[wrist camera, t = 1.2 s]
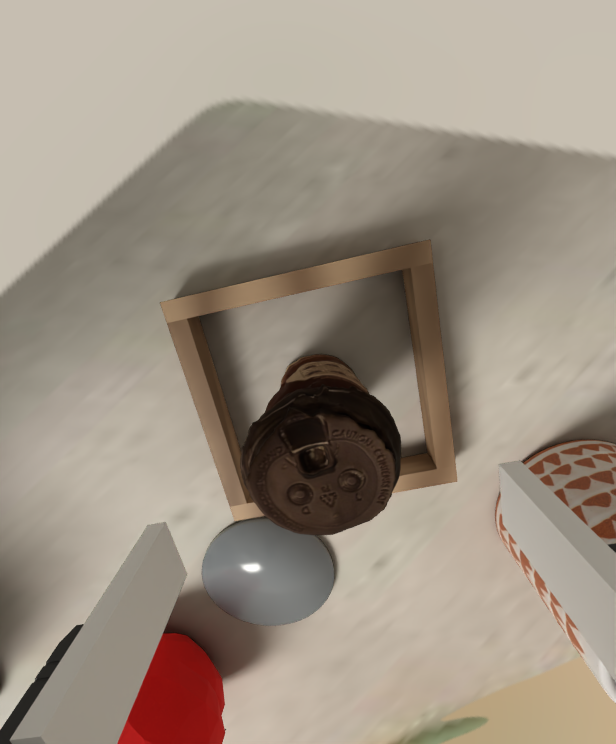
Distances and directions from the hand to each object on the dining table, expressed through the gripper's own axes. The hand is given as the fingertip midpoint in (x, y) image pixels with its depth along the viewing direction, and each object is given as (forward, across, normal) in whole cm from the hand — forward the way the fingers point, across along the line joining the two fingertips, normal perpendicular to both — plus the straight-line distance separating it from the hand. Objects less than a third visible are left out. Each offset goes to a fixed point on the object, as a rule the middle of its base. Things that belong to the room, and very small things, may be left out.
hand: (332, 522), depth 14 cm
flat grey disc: (+16, -9, -18) cm, 26 cm away
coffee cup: (+16, 0, 0) cm, 16 cm away
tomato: (+16, -22, -28) cm, 39 cm away
